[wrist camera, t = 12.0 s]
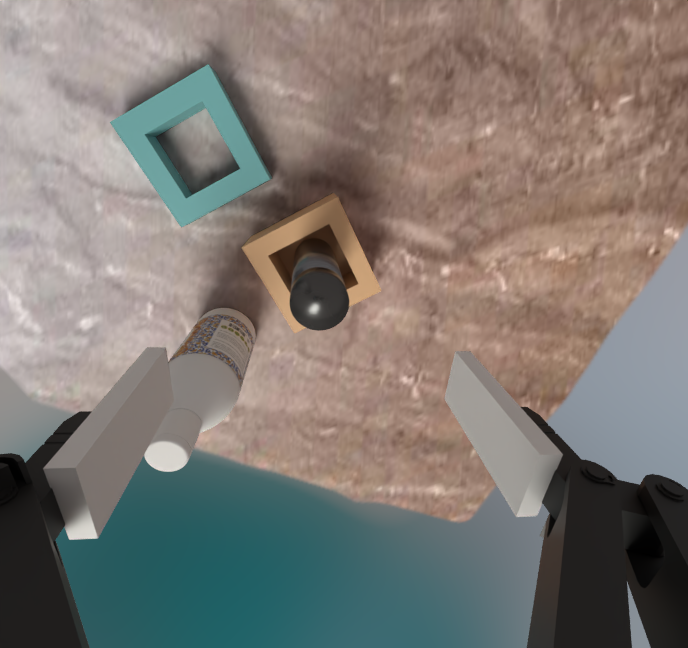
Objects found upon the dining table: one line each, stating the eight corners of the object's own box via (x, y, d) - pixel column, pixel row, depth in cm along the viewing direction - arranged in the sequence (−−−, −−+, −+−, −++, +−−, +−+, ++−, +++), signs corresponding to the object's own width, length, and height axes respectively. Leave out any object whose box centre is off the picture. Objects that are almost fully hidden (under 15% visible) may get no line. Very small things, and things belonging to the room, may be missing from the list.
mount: (123, 125, 33) (110, 122, 31) (215, 71, 32) (208, 64, 30) (189, 223, 37) (181, 227, 35) (272, 178, 36) (269, 179, 34)
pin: (286, 249, 38) (278, 291, 25) (323, 231, 37) (332, 263, 25) (306, 284, 40) (307, 339, 27) (341, 266, 39) (358, 314, 27)
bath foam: (207, 297, 40) (123, 402, 22) (264, 319, 42) (231, 433, 24) (189, 346, 42) (101, 479, 24) (245, 365, 44) (201, 502, 26)
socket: (251, 236, 38) (241, 247, 32) (333, 193, 37) (337, 196, 32) (296, 312, 42) (294, 333, 36) (371, 274, 41) (381, 290, 36)
